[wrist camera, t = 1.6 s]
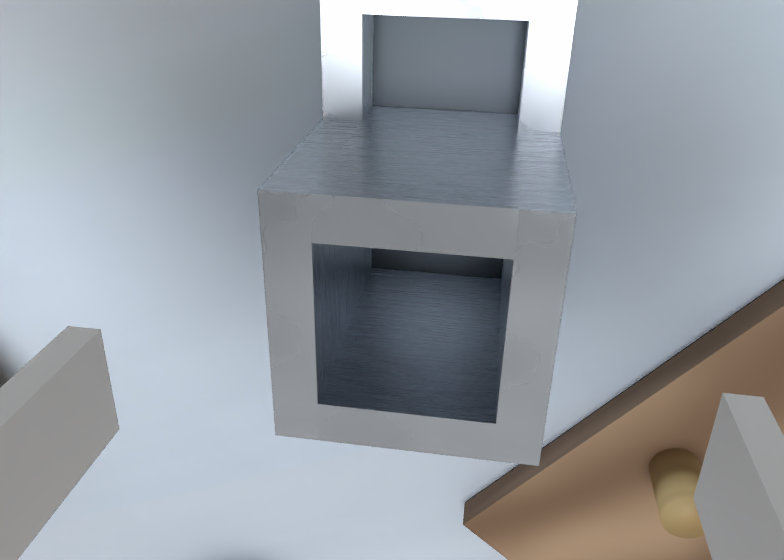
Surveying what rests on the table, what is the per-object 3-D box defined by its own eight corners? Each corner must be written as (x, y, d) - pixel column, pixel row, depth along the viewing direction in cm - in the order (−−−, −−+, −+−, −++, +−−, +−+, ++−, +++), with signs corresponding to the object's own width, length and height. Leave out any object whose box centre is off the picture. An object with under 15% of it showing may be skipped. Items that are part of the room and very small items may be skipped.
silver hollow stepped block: (333, -50, 21) (241, -29, 14) (577, -43, 20) (610, -16, 13) (341, 393, 28) (283, 552, 21) (519, 412, 27) (521, 586, 20)
